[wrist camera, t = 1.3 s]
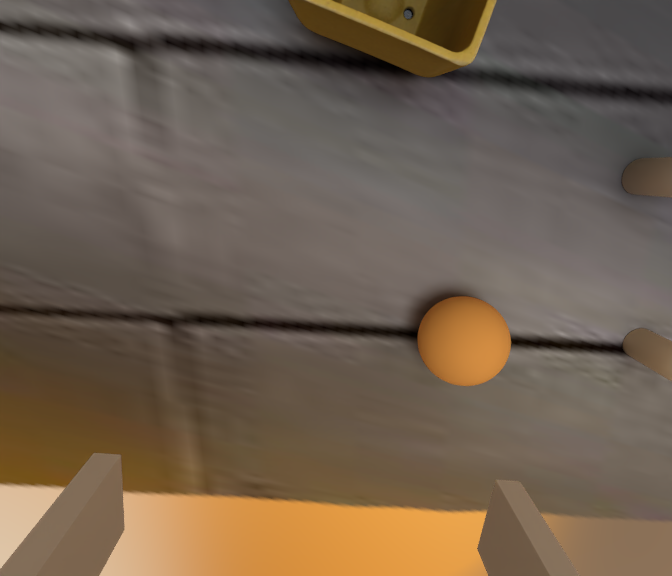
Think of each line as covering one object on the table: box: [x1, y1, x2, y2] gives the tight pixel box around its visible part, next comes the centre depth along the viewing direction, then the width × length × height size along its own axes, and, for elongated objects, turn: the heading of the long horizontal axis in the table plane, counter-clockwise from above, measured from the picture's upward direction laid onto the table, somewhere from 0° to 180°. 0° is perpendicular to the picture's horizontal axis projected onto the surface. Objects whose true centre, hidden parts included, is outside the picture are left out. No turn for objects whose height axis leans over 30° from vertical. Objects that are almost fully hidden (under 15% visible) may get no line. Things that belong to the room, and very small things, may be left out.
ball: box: [418, 296, 511, 386], centre depth 27 cm, size 6×6×6 cm
